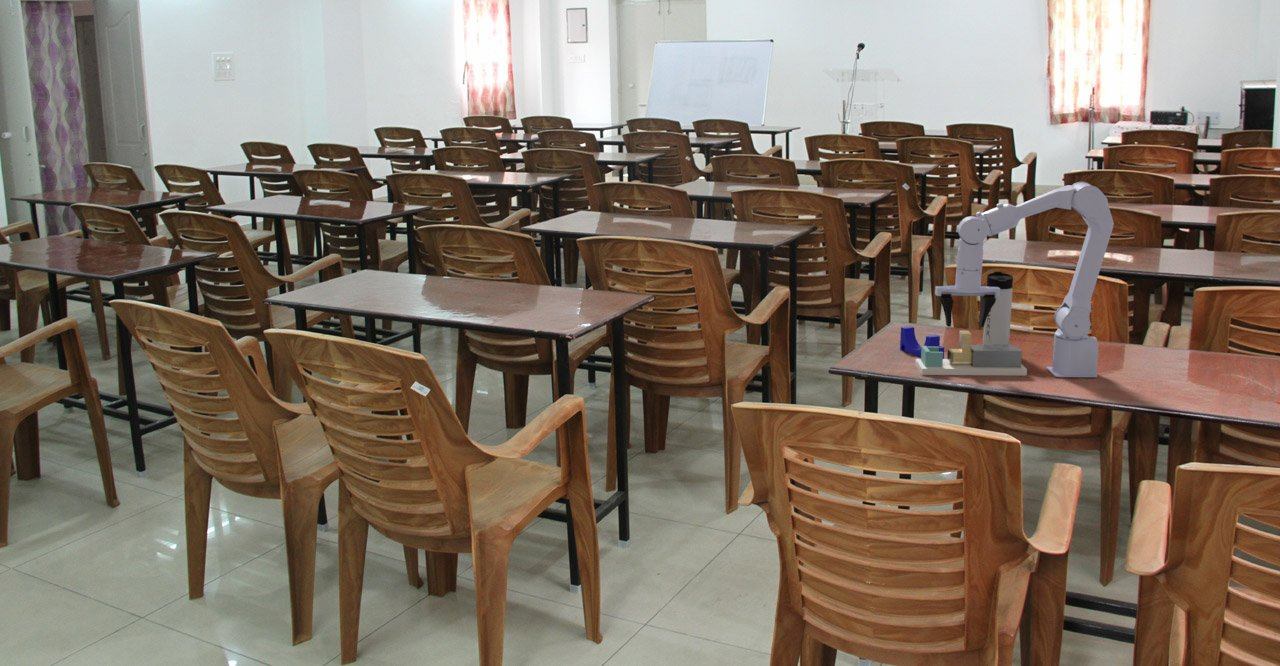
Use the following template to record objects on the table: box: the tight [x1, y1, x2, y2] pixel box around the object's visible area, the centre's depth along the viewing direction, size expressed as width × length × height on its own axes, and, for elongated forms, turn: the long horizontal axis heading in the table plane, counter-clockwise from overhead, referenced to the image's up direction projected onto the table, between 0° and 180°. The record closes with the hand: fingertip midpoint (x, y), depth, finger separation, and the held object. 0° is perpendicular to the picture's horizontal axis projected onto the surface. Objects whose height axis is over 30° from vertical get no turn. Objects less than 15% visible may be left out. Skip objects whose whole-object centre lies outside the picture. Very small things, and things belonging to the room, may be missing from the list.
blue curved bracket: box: [899, 326, 945, 359], centre depth 279 cm, size 12×4×6 cm, turn 22°
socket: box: [920, 345, 943, 367], centre depth 264 cm, size 4×6×4 cm
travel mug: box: [982, 271, 1014, 345], centre depth 278 cm, size 6×7×20 cm
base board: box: [914, 358, 1028, 377], centre depth 264 cm, size 24×9×2 cm, turn 86°
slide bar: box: [946, 330, 973, 363], centre depth 263 cm, size 15×4×7 cm, turn 86°
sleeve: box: [970, 344, 1023, 368], centre depth 263 cm, size 11×6×4 cm, turn 86°
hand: (964, 325), depth 262 cm, fingers open, 7 cm apart
